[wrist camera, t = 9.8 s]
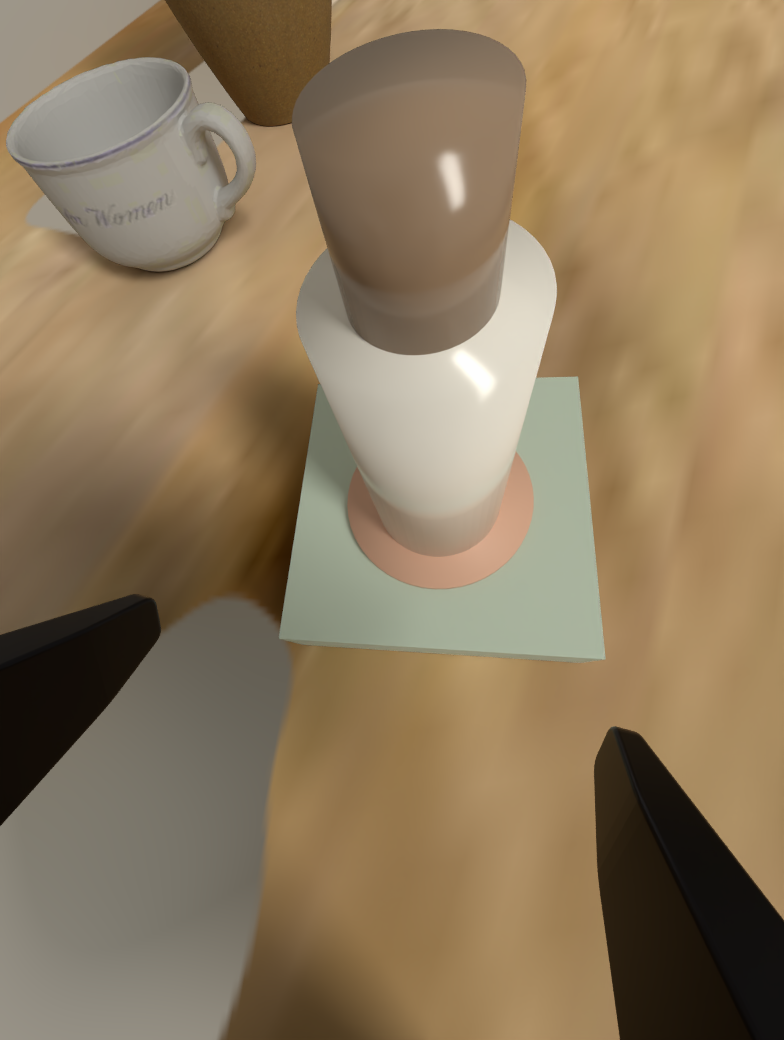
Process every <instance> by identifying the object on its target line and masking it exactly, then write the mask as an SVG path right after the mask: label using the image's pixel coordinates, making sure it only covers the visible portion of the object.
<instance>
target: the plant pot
mask: <svg viewBox="0 0 784 1040" xmlns="http://www.w3.org/2000/svg"><path fill="white" fill-rule="evenodd" d="M165 1H166V3H167V4H168V6H169V7H170V9H171V10H172V12H173V14H174V15H175V17H176V18H177V20H178V21H179V23H180V24H181V26H182V28H183V29H184V31H185V32H186V34H187V35H188V37H189V38H190V40H191V41H192V43H193V44H194V46H195V47H196V49H197V50H198V52H199V53H200V55H201V56H202V58H203V59H204V61H205V62H206V63H207V65H208V66H209V67H210V69H211V70H212V72H213V73H214V75H215V76H216V78H217V79H218V80H219V82H220V83H221V85H222V86H223V87H224V89H225V90H226V92H227V93H228V94H229V96H230V97H231V98H232V100H233V101H234V102H235V104H236V105H237V106H238V107H239V109H240V110H241V112H242V113H243V114H244V116H245V117H246V118H247V119H248V120H250V121H251V122H253V123H255V124H258V125H262V126H277V125H284V124H288V123H291V122H292V114H293V109H294V106H295V103H296V100H297V99H298V97H299V95H300V93H301V91H302V90H303V89H304V87H305V86H306V84H307V83H308V82H309V81H310V80H311V79H312V78H313V77H314V76H315V75H316V74H317V73H318V72H319V71H320V70H322V69H323V68H324V67H325V66H327V65H328V64H329V61H330V41H331V5H332V0H165Z"/></svg>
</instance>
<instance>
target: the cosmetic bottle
mask: <svg viewBox="0 0 784 1040" xmlns="http://www.w3.org/2000/svg"><path fill="white" fill-rule="evenodd" d="M525 92H526V75H525V70H524V68H523V66H522V64H521V62H520V60H519V59H518V58H517V56H516V55H515V54H514V53H513V52H512V51H511V50H510V49H509V48H507V47H506V46H504V45H503V44H501V43H500V42H498V41H496V40H493V39H491V38H489V37H486V36H483V35H480V34H476V33H472V32H467V31H460V30H447V29H433V30H419V31H411V32H406V33H400V34H396V35H392V36H388V37H384V38H381V39H378V40H375V41H372V42H369V43H367V44H364V45H362V46H359V47H357V48H355V49H353V50H351V51H349V52H347V53H345V54H343V55H342V56H340V57H338V58H337V59H335V60H334V61H332V62H331V63H329V64H328V65H327V66H325V67H324V68H323V69H322V70H320V71H319V72H318V73H317V74H316V75H315V76H314V77H313V78H312V79H311V80H310V81H309V82H308V83H307V84H306V86H305V87H304V89H303V90H302V91H301V93H300V95H299V97H298V99H297V100H296V103H295V106H294V109H293V114H292V128H293V131H294V135H295V138H296V142H297V145H298V149H299V152H300V155H301V159H302V162H303V166H304V169H305V173H306V176H307V179H308V183H309V186H310V190H311V193H312V197H313V200H314V204H315V207H316V210H317V214H318V217H319V221H320V224H321V228H322V231H323V235H324V238H325V241H326V245H327V249H326V250H325V251H324V252H323V253H322V254H321V255H320V256H319V258H318V259H317V260H316V261H315V263H314V264H313V265H312V267H311V269H310V270H309V272H308V274H307V275H306V277H305V279H304V282H303V284H302V286H301V289H300V293H299V296H298V300H297V309H296V319H297V328H298V332H299V336H300V339H301V341H302V344H303V346H304V348H305V351H306V353H307V355H308V357H309V360H310V362H311V364H312V366H313V369H314V371H315V373H316V375H317V378H318V380H319V382H320V384H321V386H322V389H323V391H324V393H325V395H326V398H327V400H328V402H329V404H330V407H331V409H332V411H333V413H334V416H335V418H336V420H337V422H338V424H339V427H340V429H341V431H342V433H343V436H344V438H345V440H346V442H347V445H348V447H349V449H350V451H351V453H352V456H353V458H354V460H355V462H356V465H357V467H358V469H359V471H360V474H361V476H362V478H363V480H364V483H365V485H366V487H367V489H368V491H369V494H370V496H371V498H372V500H373V503H374V505H375V507H376V509H377V512H378V514H379V516H380V518H381V521H382V523H383V525H384V527H385V528H386V530H387V532H388V533H389V534H390V535H391V537H392V538H393V539H394V540H395V541H396V542H398V543H399V544H400V545H402V546H403V547H404V548H406V549H408V550H410V551H412V552H415V553H418V554H421V555H425V556H433V557H445V556H451V555H455V554H459V553H462V552H464V551H466V550H469V549H470V548H472V547H474V546H475V545H477V544H478V543H479V542H480V541H482V540H483V539H484V538H485V537H486V536H487V535H488V533H489V532H490V530H491V529H492V528H493V526H494V524H495V522H496V520H497V517H498V514H499V511H500V507H501V503H502V500H503V496H504V492H505V489H506V485H507V481H508V478H509V474H510V470H511V467H512V463H513V459H514V456H515V452H516V449H517V445H518V441H519V438H520V434H521V430H522V427H523V423H524V419H525V416H526V412H527V408H528V405H529V401H530V397H531V394H532V390H533V386H534V383H535V379H536V375H537V372H538V368H539V364H540V361H541V357H542V353H543V350H544V346H545V342H546V339H547V335H548V332H549V328H550V324H551V321H552V317H553V313H554V309H555V303H556V294H557V284H556V279H555V273H554V270H553V267H552V264H551V261H550V259H549V257H548V256H547V254H546V252H545V250H544V249H543V247H542V246H541V245H540V244H539V242H538V241H537V240H536V239H535V238H534V237H533V236H532V235H531V234H530V233H529V232H528V231H526V230H525V229H524V228H523V227H521V226H520V225H518V224H517V223H515V222H514V221H512V220H510V214H511V206H512V198H513V189H514V181H515V173H516V165H517V157H518V149H519V141H520V133H521V124H522V116H523V108H524V100H525Z"/></svg>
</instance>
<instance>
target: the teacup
mask: <svg viewBox="0 0 784 1040" xmlns="http://www.w3.org/2000/svg"><path fill="white" fill-rule="evenodd" d="M210 131H211V132H214V133H216V134H217V135H219V136H220V137H221V138H222V139H223V140H224V141H225V142H226V143H227V144H228V146H229V147H230V149H231V150H232V152H233V154H234V156H235V159H236V164H237V172H236V175H235V177H234V179H233V180H232V181H231V182H230V183H228V179H227V176H226V173H225V169H224V166H223V163H222V161H221V158H220V156H219V153H218V150H217V148H216V145H215V143H214V140H213V138H212V135H211V133H210ZM6 146H7V149H8V151H9V153H10V155H11V156H12V157H13V159H14V160H15V161H16V162H18V163H19V164H20V165H21V166H23V167H24V168H25V170H26V171H27V172H28V173H29V175H30V176H31V177H32V179H33V180H34V181H35V182H36V184H37V185H38V186H39V187H40V189H41V190H42V191H43V193H44V194H45V195H46V196H47V197H48V199H49V200H50V201H51V202H52V203H53V205H54V206H55V207H56V208H57V209H58V211H59V212H60V213H61V214H62V216H63V217H64V218H65V219H66V220H67V221H68V223H69V224H70V225H71V226H72V227H73V228H74V230H75V231H76V232H77V233H78V234H79V235H80V236H81V237H82V239H83V240H84V241H85V242H86V243H87V244H88V245H89V246H90V247H92V248H93V249H94V250H95V251H96V252H98V253H99V254H100V255H102V256H103V257H105V258H107V259H108V260H110V261H112V262H115V263H117V264H120V265H124V266H128V267H135V268H140V269H143V270H147V271H159V272H160V271H170V270H175V269H178V268H181V267H183V266H186V265H189V264H191V263H193V262H195V261H196V260H198V259H199V258H201V257H202V256H203V255H204V254H206V253H207V252H208V251H209V250H210V249H211V248H212V247H213V245H214V244H215V243H216V241H217V240H218V238H219V236H220V234H221V231H222V226H223V224H224V222H225V220H229V219H230V218H231V217H232V216H233V214H234V213H235V204H236V203H237V202H238V201H239V200H240V199H241V198H242V197H243V196H244V195H245V193H246V192H247V190H248V189H249V187H250V185H251V183H252V181H253V178H254V174H255V170H256V156H255V151H254V147H253V145H252V142H251V139H250V137H249V135H248V133H247V131H246V130H245V128H244V126H243V125H242V124H241V122H240V121H239V120H238V119H237V118H236V117H235V116H234V115H233V114H232V113H231V112H230V111H229V110H227V109H226V108H224V107H223V106H221V105H218V104H215V103H209V102H208V103H203V104H198V102H197V100H196V97H195V95H194V92H193V90H192V83H191V79H190V76H189V74H188V73H187V71H186V70H185V68H184V67H182V66H181V65H179V64H178V63H177V62H173V61H171V60H167V59H162V58H150V57H144V58H136V59H127V60H123V61H117V62H115V63H114V64H107V65H104V66H101V67H98V68H95V69H93V70H90V71H86V72H84V73H82V74H79V75H77V76H75V77H73V78H71V79H69V80H67V81H65V82H63V83H61V84H60V85H58V86H56V87H54V88H53V89H51V90H50V91H49V92H47V93H45V94H44V95H42V96H41V97H39V98H38V99H37V100H36V101H34V102H32V103H31V104H29V105H28V106H27V107H26V108H24V111H23V112H22V113H21V114H20V115H19V116H18V117H17V118H16V119H15V121H14V122H13V123H12V125H11V127H10V129H9V131H8V134H7V140H6Z"/></svg>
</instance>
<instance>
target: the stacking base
mask: <svg viewBox="0 0 784 1040" xmlns="http://www.w3.org/2000/svg"><path fill="white" fill-rule="evenodd" d="M279 639H282V640H286V641H290V642H294V643H298V644H302V645H315V646H330V647H346V648H361V649H376V650H392V651H407V652H422V653H438V654H453V655H469V656H484V657H499V658H515V659H530V660H545V661H561V662H576V663H584V662H591V661H598V660H605V650H604V640H603V629H602V619H601V609H600V598H599V588H598V578H597V568H596V557H595V547H594V537H593V527H592V516H591V506H590V496H589V486H588V475H587V465H586V455H585V444H584V434H583V424H582V414H581V403H580V393H579V383H578V377H550V378H536V379H535V383H534V386H533V390H532V394H531V397H530V401H529V405H528V408H527V412H526V416H525V419H524V423H523V427H522V430H521V434H520V438H519V441H518V445H517V449H516V452H515V456H514V459H513V463H512V467H511V470H510V474H509V478H508V481H507V485H506V489H505V492H504V496H503V500H502V503H501V507H500V511H499V514H498V517H497V520H496V522H495V524H494V526H493V528H492V529H491V530H490V532H489V533H488V535H487V536H486V537H485V538H484V539H483V540H482V541H480V542H479V543H478V544H477V545H475V546H474V547H472V548H470V549H469V550H466V551H464V552H462V553H459V554H455V555H451V556H445V557H433V556H425V555H421V554H418V553H415V552H412V551H410V550H408V549H406V548H404V547H403V546H402V545H400V544H399V543H398V542H396V541H395V540H394V539H393V538H392V537H391V535H390V534H389V533H388V532H387V530H386V528H385V527H384V525H383V523H382V521H381V518H380V516H379V514H378V512H377V509H376V507H375V505H374V503H373V500H372V498H371V496H370V494H369V491H368V489H367V487H366V485H365V483H364V480H363V478H362V476H361V474H360V471H359V469H358V467H357V465H356V462H355V460H354V458H353V456H352V453H351V451H350V449H349V447H348V445H347V442H346V440H345V438H344V436H343V433H342V431H341V429H340V427H339V424H338V422H337V420H336V418H335V416H334V413H333V411H332V409H331V407H330V404H329V402H328V400H327V398H326V395H325V393H324V391H323V389H322V386H321V384H318V389H317V395H316V402H315V408H314V414H313V421H312V427H311V434H310V440H309V447H308V453H307V459H306V466H305V472H304V479H303V485H302V491H301V498H300V504H299V511H298V517H297V524H296V530H295V536H294V543H293V549H292V556H291V562H290V568H289V575H288V581H287V588H286V594H285V601H284V607H283V613H282V620H281V626H280V633H279Z"/></svg>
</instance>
